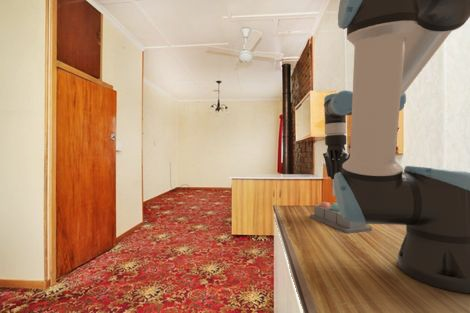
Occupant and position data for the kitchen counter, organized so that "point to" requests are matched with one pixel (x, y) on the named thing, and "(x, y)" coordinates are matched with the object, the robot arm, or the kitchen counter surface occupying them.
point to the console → (337, 220)
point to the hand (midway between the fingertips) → (336, 195)
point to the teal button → (335, 207)
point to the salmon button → (325, 204)
